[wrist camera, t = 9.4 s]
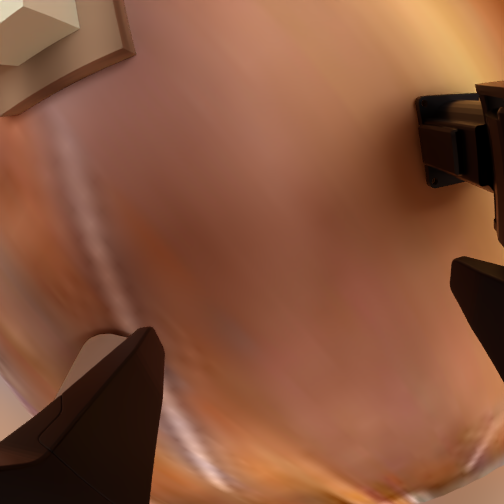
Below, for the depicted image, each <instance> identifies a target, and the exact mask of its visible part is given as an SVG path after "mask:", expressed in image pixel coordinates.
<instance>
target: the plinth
mask: <svg viewBox="0 0 504 504" xmlns="http://www.w3.org/2000/svg"><path fill="white" fill-rule="evenodd" d="M75 4H76V10H77V15H78V21H79V26H80V29H79V30H77V31H75V32H73V33H71V34H69V35H67V36H66V37H64V38H62V39H60V40H59V41H57V42H55V43H53V44H52V45H50V46H48V47H47V48H45V49H44V50H42V51H40V52H39V53H37V54H36V55H34V56H33V57H31V58H29V59H28V60H26V61H25V62H24V63H22V64H21V65H19V66H12V65H1V64H0V117H4V116H13V115H19V114H21V113H22V112H24V111H25V110H27V109H29V108H30V107H32V106H34V105H35V104H37V103H39V102H40V101H42V100H44V99H45V98H47V97H49V96H51V95H52V94H54V93H56V92H58V91H60V90H61V89H63V88H65V87H67V86H69V85H71V84H73V83H75V82H77V81H79V80H81V79H83V78H85V77H87V76H89V75H91V74H93V73H95V72H97V71H99V70H102V69H104V68H106V67H108V66H111V65H113V64H115V63H117V62H120V61H122V60H125V59H127V58H129V57H132V56H134V55H136V52H135V48H134V44H133V39H132V35H131V31H130V27H129V23H128V18H127V14H126V9H125V5H124V0H75Z"/></svg>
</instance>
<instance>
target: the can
mask: <svg viewBox="0 0 504 504" xmlns="http://www.w3.org/2000/svg"><path fill="white" fill-rule="evenodd" d="M126 339H127V337H123V336H118V335H114V334H99V335H96V336H94V337H91V338H89V339H88V340H87V342H86V343H85V344H84V345H83V347H82V349H81V350H80V352H79V354H78V356H77V358H76V359H75V361H74V363H73V365H72V367H71V369H70V370H69V372H68V374H67V376H66V378H65V380H64V382H63V384H62V386H61V388H60V389H59V391H58V393H57V395H56V397H55V399H56V398H57V397H58V396H60V395H62V393H63V392H64V391H66V390H67V389H68V388H69V387H70V386H71V385H73V384H74V383H75V382H76V381H77V380H78V379H80V378H81V377H82V376H83V375H84V374H85V373H87V372H88V371H89V370H90V369H91V368H92V367H94V366H95V365H96V364H97V363H98V362H100V361H101V360H102V359H103V358H104V357H105V356H107V355H108V354H109V353H110V352H111V351H112V350H114V349H115V348H116V347H117V346H118V345H120V344H121V343H122V342H123V341H124V340H126ZM55 399H54V400H55Z"/></svg>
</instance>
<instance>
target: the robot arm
mask: <svg viewBox="0 0 504 504" xmlns="http://www.w3.org/2000/svg"><path fill="white" fill-rule="evenodd" d="M475 87H476V91H477V93H466V94H446V95H431V96H420V97H418V98H417V99H416V108H417V113H418V119H419V125H420V126H419V135H420V142H421V149H422V157H423V162H424V163H425V171H426V181H427V184H428V186H430V187H432V188H439V187H443V186H448V185H452V184H457V183H461V182H469V183H471V184H473V185H476V186H478V187H480V188H483V189H485V190H487V191H490V192H492V193H494V204H495V219H494V229H495V230H496V231H497V236H498V240H499V242H500V243H501V244H502V246H503V247H504V81H497V82H489V83H482V84H475ZM479 98H480V101H479ZM422 100H423V101H424V103H425V105H424V107H423V106H422ZM433 178H435V182H434V183H432V180H433ZM450 288H451V291H452V293H453V294H454V296H455V298H456V300H457V302H458V304H459V306H460V307H461V309H462V311H463V313H464V315H465V317H466V319H467V321H468V323H469V325H470V326H471V328H472V330H473V331H474V333H475V335H476V336H477V338H478V339H479V341H480V343H481V344H482V346H483V348H484V349H485V351H486V352H487V354H488V356H489V357H490V359H491V361H492V363H493V364H494V366H495V368H496V369H497V371H498V373H499V375H500V377H501V378H502V380H503V382H504V266H501V265H497V264H493V263H489V262H485V261H481V260H478V259H474V258H470V257H466V256H462V257H459V258H456V259H454V260H453V261H452V264H451V277H450ZM164 359H165V353H164V348H163V346H162V344H161V342H160V340H159V338H158V336H157V334H156V332H155V330H154V328H153V327H143V328H139V329H137V330H136V331H135V332H134V333H133V334H131V335H130V336H129V337H128V338H127V339H126V340H124V341H123V342H122V343H121V344H120V345H118V346H117V347H116V348H115V349H114V350H112V351H111V352H110V353H109V354H108V355H107V356H105V357H104V358H103V359H102V360H101V361H100V362H98V363H97V364H96V365H95V366H94V367H92V368H91V369H90V370H89V371H88V372H87V373H85V374H84V375H83V376H82V377H81V378H80V379H78V380H77V381H76V382H75V383H74V384H73V385H71V386H70V387H69V388H68V389H67V390H66V391H64V392H63V393H62V395H60V396H58V397H57V398H56V399H55V400H54V401H53V402H51V403H50V404H49V405H48V406H47V407H45V408H44V409H43V410H42V411H41V412H39V413H38V414H37V415H35V416H34V417H33V418H32V419H30V420H29V421H28V422H26V423H25V424H24V425H22V426H21V427H20V428H18V429H17V430H16V431H14V432H13V433H11V434H10V435H9V436H7V437H6V438H5V439H3V440H2V441H0V504H149V501H150V492H151V482H152V474H153V465H154V457H155V449H156V442H157V434H158V427H159V420H160V413H161V407H162V399H163V381H164Z"/></svg>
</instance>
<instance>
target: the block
mask: <svg viewBox="0 0 504 504" xmlns="http://www.w3.org/2000/svg"><path fill="white" fill-rule="evenodd" d="M79 29H80V26H79V21H78V15H77V10H76V4H75V0H0V64H1V65H12V66H19V65H21V64H22V63H24V62H25V61H26V60H28V59H29V58H31V57H33V56H34V55H36V54H37V53H39V52H40V51H42V50H44V49H45V48H47V47H48V46H50V45H52V44H53V43H55V42H57V41H59V40H60V39H62V38H64V37H66V36H67V35H69V34H71V33H73V32H75V31H77V30H79Z"/></svg>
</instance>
